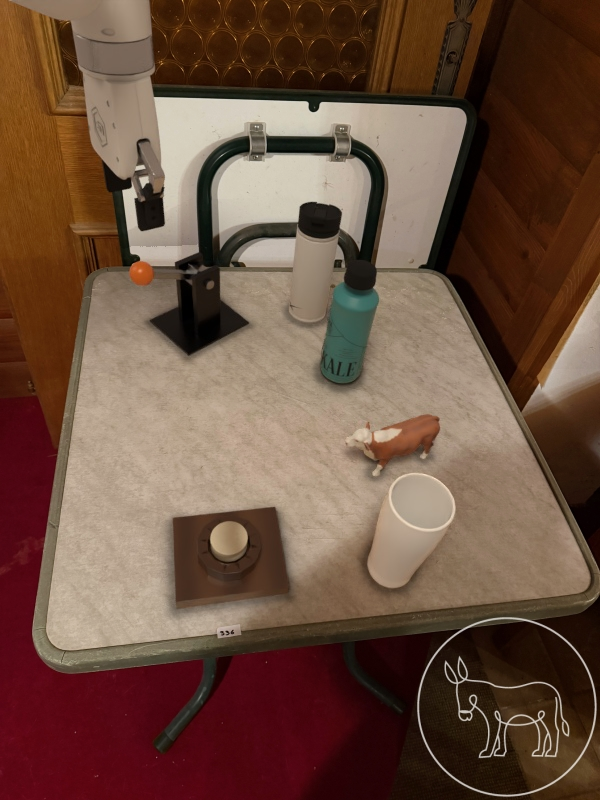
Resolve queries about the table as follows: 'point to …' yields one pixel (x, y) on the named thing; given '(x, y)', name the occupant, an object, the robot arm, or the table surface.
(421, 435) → the bull figurine
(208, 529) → the control block
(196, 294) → the switch bracket
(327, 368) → the beverage bottle
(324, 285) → the travel mug
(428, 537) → the drinking glass
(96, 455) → the table surface
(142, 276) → the lever
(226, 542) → the stop button
